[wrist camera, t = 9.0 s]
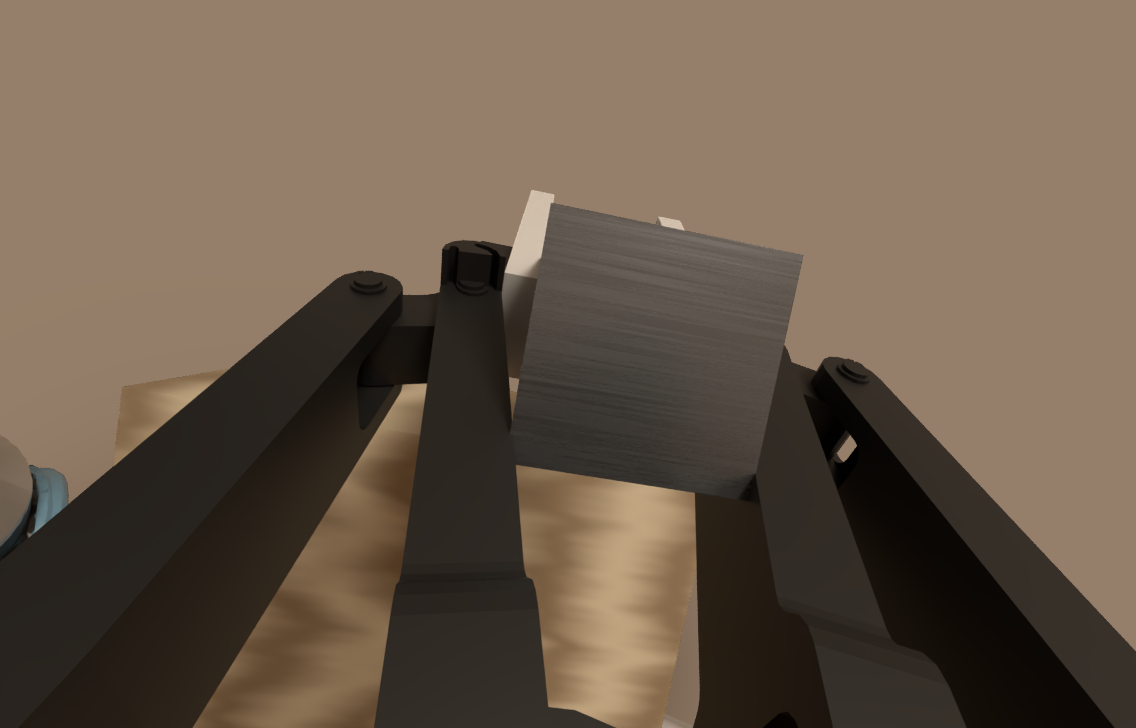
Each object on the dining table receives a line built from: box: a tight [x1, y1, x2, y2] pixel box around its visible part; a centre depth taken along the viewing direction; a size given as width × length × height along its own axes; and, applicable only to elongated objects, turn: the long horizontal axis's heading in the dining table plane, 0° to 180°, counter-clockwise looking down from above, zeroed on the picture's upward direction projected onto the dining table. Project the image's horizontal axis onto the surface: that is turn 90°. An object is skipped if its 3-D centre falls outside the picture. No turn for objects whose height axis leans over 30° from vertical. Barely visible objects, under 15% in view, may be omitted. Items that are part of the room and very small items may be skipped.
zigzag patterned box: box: [113, 369, 697, 728], centre depth 34 cm, size 28×20×30 cm
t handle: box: [510, 203, 803, 501], centre depth 21 cm, size 12×30×5 cm, turn 4°
